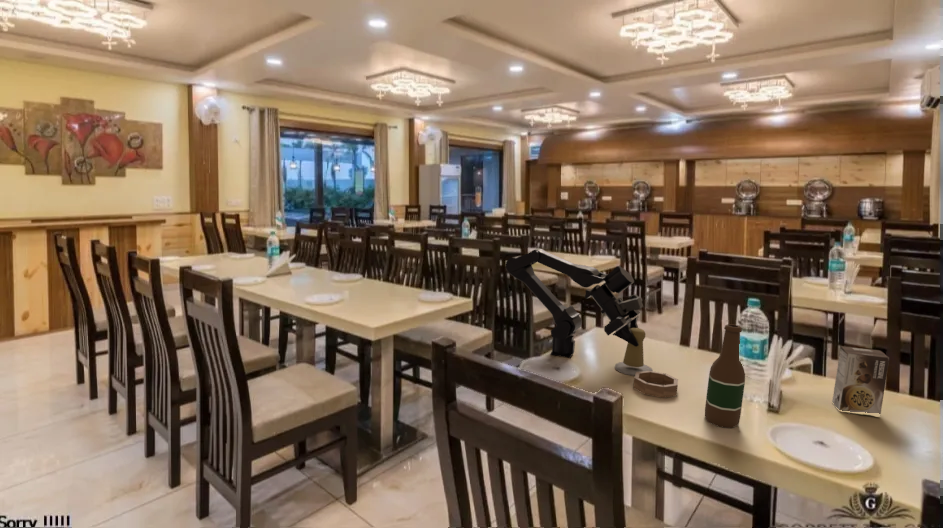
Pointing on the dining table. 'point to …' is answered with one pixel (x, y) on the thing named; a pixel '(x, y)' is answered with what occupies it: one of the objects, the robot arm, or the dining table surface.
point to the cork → (635, 350)
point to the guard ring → (653, 389)
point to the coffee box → (860, 380)
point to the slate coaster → (631, 368)
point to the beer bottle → (726, 382)
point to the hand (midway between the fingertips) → (640, 343)
